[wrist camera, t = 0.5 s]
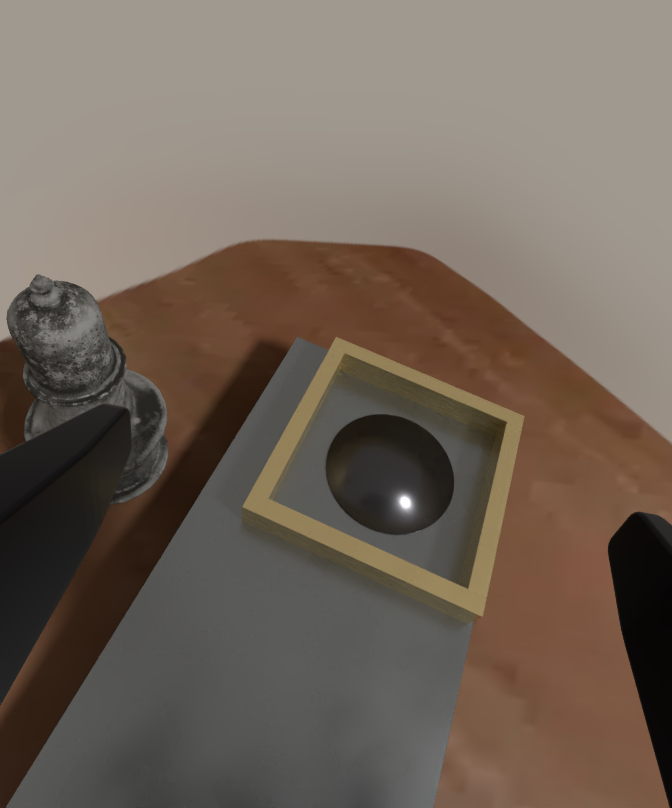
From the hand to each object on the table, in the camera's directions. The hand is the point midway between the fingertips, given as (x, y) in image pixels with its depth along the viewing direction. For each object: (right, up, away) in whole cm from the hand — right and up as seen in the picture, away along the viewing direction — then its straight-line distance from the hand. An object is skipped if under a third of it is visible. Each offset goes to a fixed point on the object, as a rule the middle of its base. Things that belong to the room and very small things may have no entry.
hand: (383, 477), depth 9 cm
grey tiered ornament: (-12, -1, +17) cm, 21 cm away
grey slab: (-2, -7, +15) cm, 16 cm away
